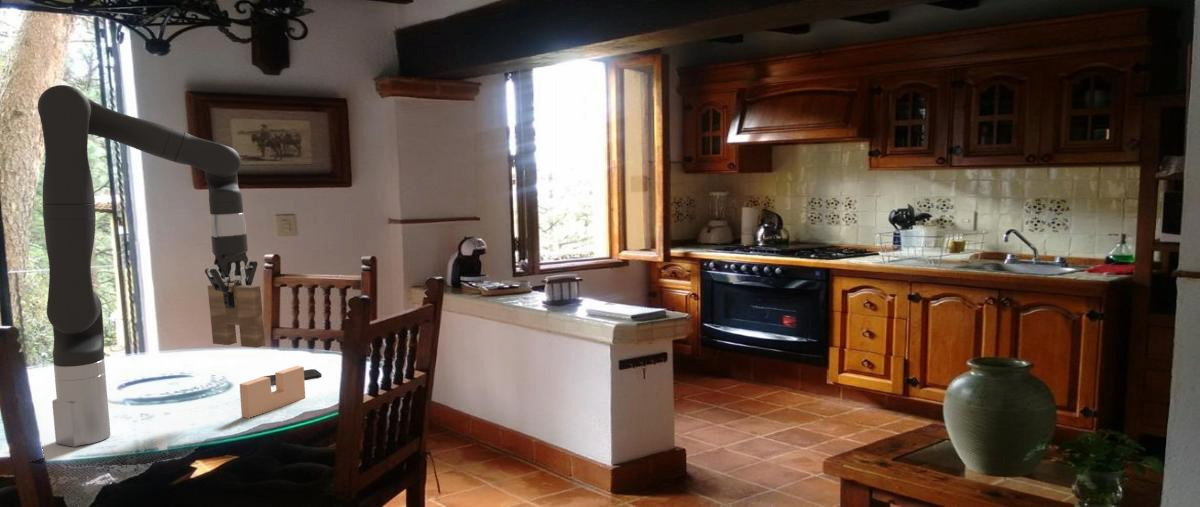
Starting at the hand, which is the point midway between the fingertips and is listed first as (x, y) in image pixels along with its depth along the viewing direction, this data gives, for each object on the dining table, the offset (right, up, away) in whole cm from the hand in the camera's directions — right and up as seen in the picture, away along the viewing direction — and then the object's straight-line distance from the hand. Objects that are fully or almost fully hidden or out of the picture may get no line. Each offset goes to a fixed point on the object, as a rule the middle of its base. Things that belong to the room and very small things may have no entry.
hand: (235, 306), depth 192 cm
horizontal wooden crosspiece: (+6, -25, +8) cm, 27 cm away
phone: (0, -23, +35) cm, 41 cm away
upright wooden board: (0, -9, +1) cm, 9 cm away
